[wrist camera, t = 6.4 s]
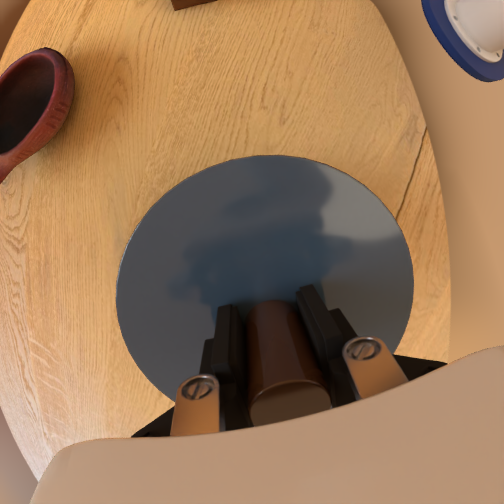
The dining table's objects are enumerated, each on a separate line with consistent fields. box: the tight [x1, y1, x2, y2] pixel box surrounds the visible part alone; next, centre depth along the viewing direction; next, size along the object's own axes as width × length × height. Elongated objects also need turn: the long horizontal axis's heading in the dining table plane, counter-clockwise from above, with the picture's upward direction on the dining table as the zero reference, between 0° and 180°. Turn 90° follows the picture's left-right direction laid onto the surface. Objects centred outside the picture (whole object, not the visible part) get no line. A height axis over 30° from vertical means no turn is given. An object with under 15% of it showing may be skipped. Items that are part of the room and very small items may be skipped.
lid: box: [116, 155, 414, 427], centre depth 10 cm, size 14×14×6 cm
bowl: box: [0, 47, 75, 184], centre depth 21 cm, size 16×13×8 cm
